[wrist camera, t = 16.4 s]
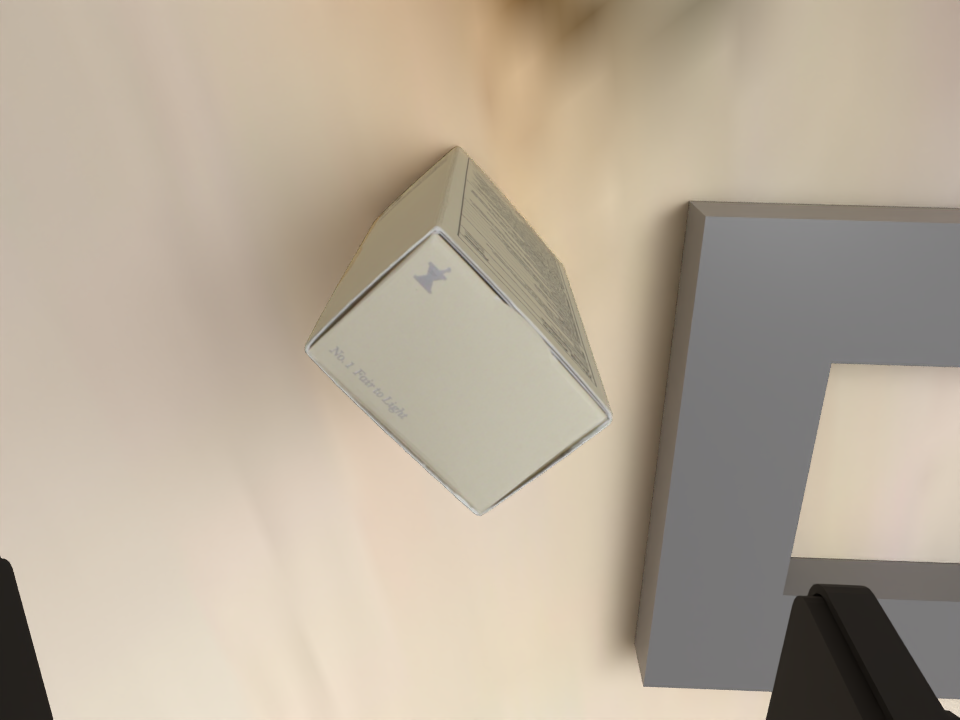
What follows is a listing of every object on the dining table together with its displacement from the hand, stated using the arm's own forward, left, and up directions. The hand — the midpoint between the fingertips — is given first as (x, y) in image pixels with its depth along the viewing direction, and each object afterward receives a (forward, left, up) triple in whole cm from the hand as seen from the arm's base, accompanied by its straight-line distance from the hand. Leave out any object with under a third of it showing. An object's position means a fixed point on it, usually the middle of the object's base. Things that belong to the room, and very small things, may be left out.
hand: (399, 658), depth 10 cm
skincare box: (0, 0, -21) cm, 21 cm away
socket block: (+8, +18, -21) cm, 29 cm away
